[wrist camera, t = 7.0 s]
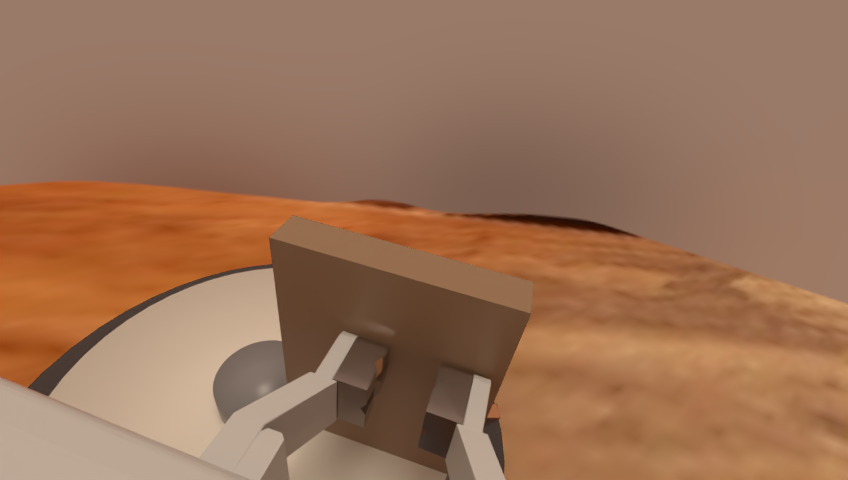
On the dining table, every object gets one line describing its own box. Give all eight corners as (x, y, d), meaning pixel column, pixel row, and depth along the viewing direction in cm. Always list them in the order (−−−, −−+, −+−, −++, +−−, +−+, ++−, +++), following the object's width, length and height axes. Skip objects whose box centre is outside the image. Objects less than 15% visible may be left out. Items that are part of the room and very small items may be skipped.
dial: (-117, 561, 12) (-589, 337, 6) (228, 258, 25) (194, 87, 19) (392, 813, 10) (491, 877, 4) (484, 336, 22) (541, 169, 16)
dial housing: (-248, 665, 12) (-320, 650, 10) (222, 254, 28) (217, 229, 27) (440, 1026, 9) (458, 1068, 8) (510, 337, 26) (519, 314, 24)
